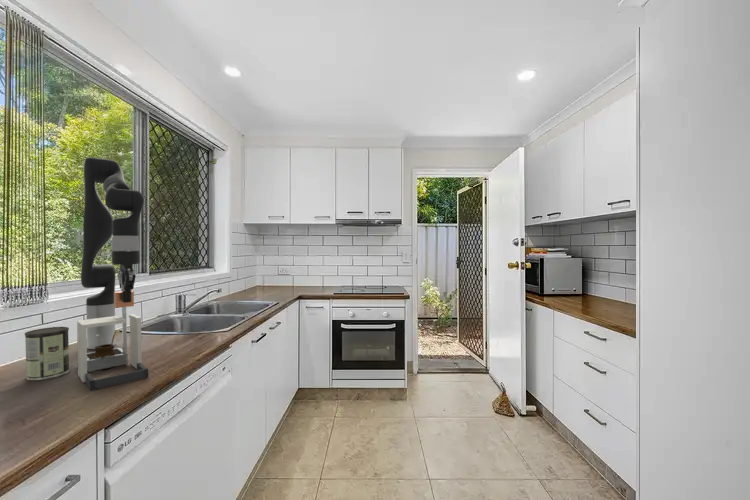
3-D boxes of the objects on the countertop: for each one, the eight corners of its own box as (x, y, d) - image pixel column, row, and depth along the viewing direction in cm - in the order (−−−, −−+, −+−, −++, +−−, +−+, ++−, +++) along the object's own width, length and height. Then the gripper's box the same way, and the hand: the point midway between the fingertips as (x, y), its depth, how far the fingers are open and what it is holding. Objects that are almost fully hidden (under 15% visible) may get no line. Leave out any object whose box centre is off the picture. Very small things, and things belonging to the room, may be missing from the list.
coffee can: (49, 368, 119) (48, 326, 119) (78, 369, 118) (77, 326, 118) (15, 380, 109) (14, 333, 109) (46, 381, 108) (45, 334, 108)
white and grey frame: (77, 374, 114) (77, 320, 113) (133, 363, 124) (133, 313, 124) (83, 382, 107) (82, 325, 106) (141, 369, 117) (141, 317, 117)
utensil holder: (96, 365, 122) (95, 330, 122) (118, 362, 125) (117, 328, 125) (91, 370, 117) (90, 334, 117) (114, 368, 119) (114, 331, 119)
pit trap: (85, 382, 107) (85, 374, 107) (140, 370, 117) (140, 362, 117) (90, 390, 100) (90, 381, 100) (148, 377, 111) (148, 369, 110)
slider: (81, 364, 122) (80, 292, 122) (126, 355, 131) (125, 288, 131) (87, 372, 113) (85, 295, 113) (134, 362, 123) (133, 291, 122)
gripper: (107, 250, 121) (108, 302, 121) (116, 249, 112) (117, 305, 112) (134, 250, 126) (134, 299, 126) (144, 249, 117) (145, 302, 117)
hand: (126, 302), depth 119 cm, fingers closed
